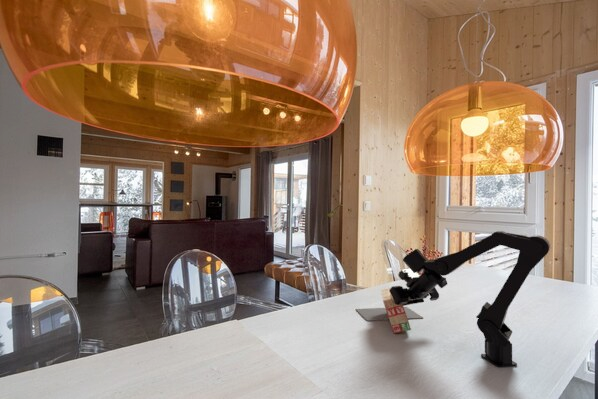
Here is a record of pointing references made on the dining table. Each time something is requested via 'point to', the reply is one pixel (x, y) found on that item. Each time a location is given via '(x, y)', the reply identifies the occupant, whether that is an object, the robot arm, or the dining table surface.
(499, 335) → the robot arm
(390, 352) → the dining table surface
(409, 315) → the mat
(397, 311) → the stack of blocks
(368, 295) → the dining table surface
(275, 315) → the dining table surface
